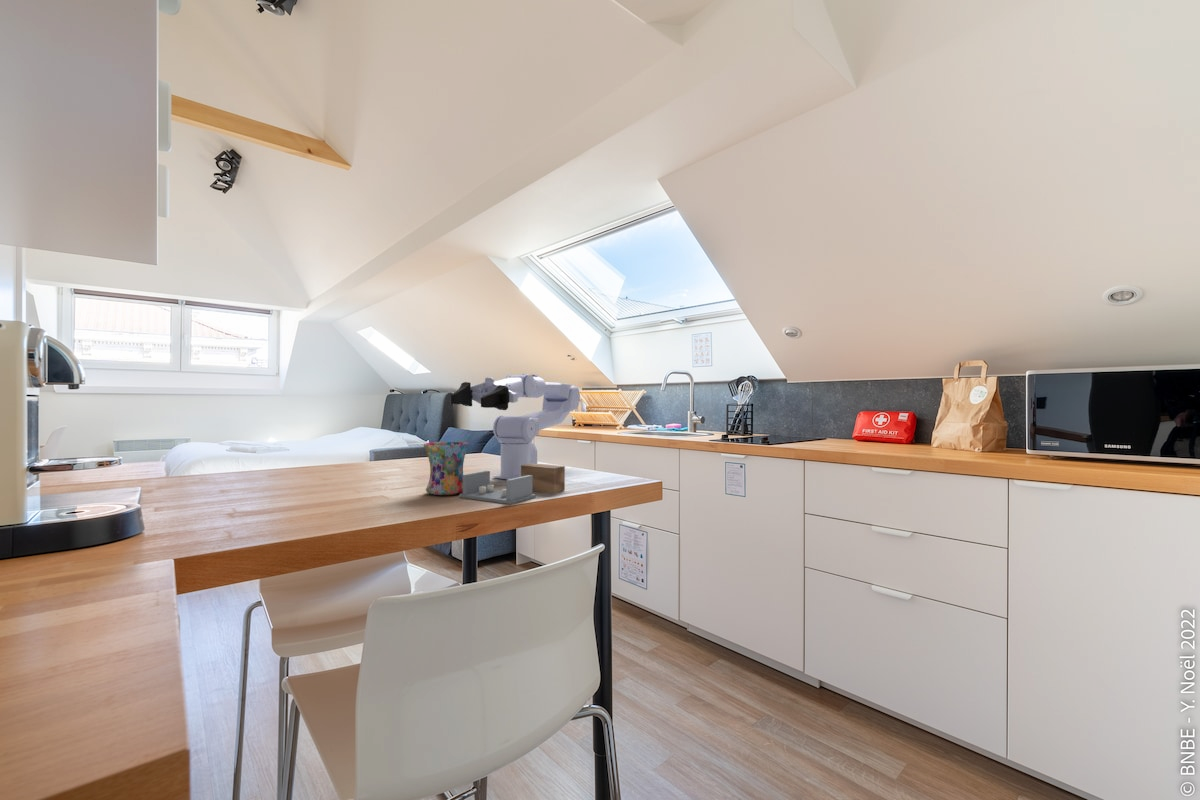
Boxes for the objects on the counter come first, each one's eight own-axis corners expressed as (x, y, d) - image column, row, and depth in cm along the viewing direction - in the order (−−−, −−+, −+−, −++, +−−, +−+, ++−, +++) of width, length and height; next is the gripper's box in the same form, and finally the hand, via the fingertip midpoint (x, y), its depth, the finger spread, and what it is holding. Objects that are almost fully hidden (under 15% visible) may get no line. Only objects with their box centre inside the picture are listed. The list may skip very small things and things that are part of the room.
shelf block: (531, 487, 118) (532, 463, 118) (564, 491, 114) (564, 466, 114) (520, 490, 115) (521, 465, 115) (554, 494, 110) (554, 468, 110)
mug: (463, 497, 106) (463, 445, 105) (417, 497, 105) (417, 445, 105) (475, 487, 118) (475, 440, 117) (434, 487, 117) (434, 440, 117)
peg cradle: (486, 490, 113) (486, 470, 113) (535, 497, 106) (535, 475, 106) (459, 497, 106) (459, 475, 106) (510, 504, 99) (510, 480, 99)
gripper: (475, 372, 126) (439, 380, 114) (527, 377, 121) (495, 385, 109) (475, 401, 128) (440, 411, 115) (527, 406, 122) (496, 418, 110)
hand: (467, 400), depth 112 cm, fingers open, 7 cm apart
